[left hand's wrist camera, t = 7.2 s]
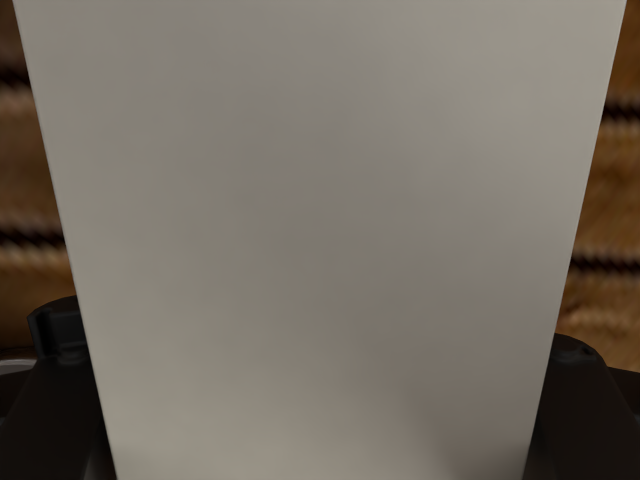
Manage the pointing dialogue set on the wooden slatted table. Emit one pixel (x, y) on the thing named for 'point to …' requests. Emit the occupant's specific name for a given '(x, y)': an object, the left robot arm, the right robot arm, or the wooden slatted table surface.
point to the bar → (319, 223)
